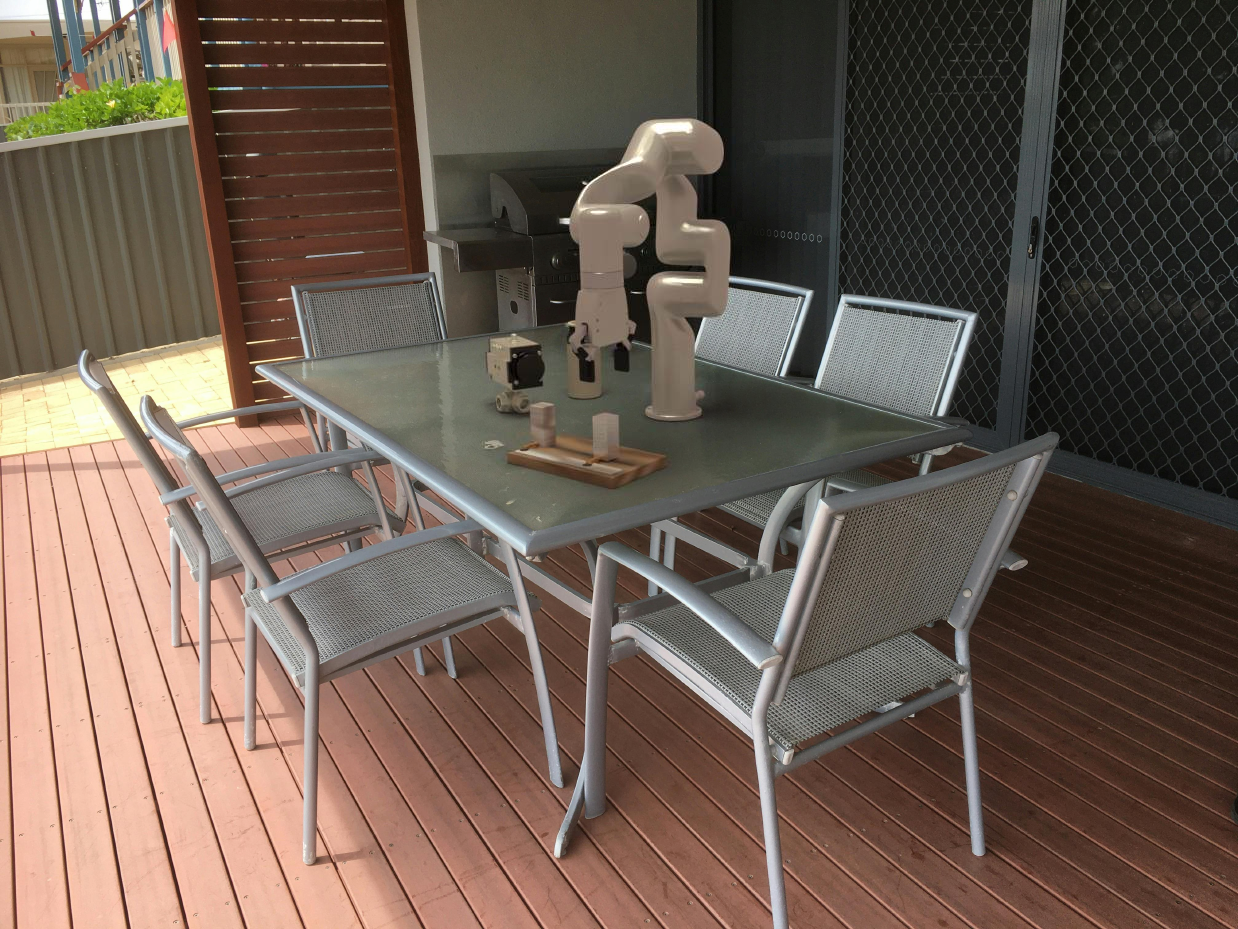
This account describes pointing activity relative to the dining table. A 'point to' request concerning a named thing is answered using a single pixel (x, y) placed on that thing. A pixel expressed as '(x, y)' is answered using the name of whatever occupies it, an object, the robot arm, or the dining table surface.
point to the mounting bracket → (493, 444)
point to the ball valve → (515, 370)
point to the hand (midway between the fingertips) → (605, 376)
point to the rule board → (579, 454)
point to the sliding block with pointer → (605, 437)
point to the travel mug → (575, 385)
